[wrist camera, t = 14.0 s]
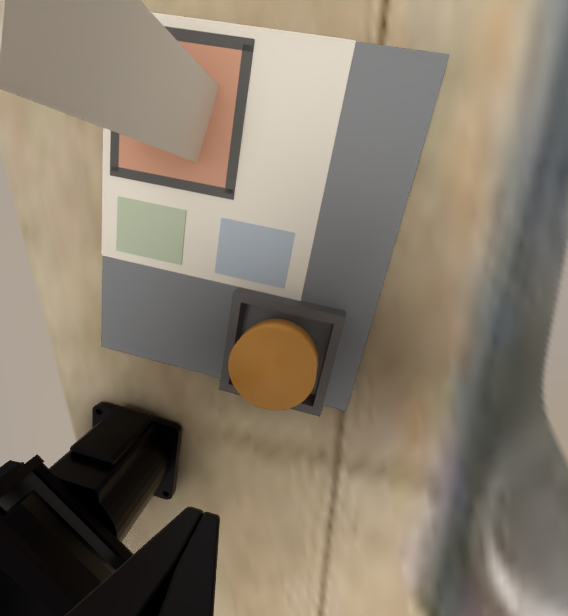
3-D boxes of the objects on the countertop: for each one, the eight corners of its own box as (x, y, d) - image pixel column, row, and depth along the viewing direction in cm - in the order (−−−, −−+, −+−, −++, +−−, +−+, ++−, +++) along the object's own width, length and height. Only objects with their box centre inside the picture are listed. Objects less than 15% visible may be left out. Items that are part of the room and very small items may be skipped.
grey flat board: (346, 403, 20) (346, 423, 18) (109, 341, 21) (87, 354, 20) (443, 63, 14) (459, 39, 12) (117, 17, 16) (87, -10, 14)
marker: (197, 163, 16) (-135, 37, 5) (134, 135, 16) (-328, -48, 5) (219, 86, 15) (-145, -307, 4) (151, 57, 15) (-394, -404, 4)
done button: (308, 402, 18) (305, 420, 16) (232, 382, 18) (222, 397, 17) (326, 329, 16) (325, 341, 15) (244, 309, 17) (234, 319, 15)
